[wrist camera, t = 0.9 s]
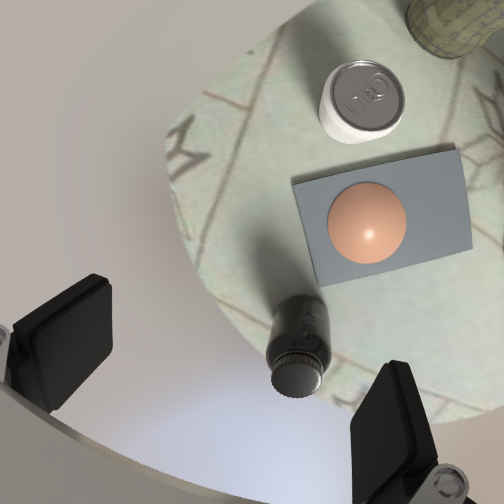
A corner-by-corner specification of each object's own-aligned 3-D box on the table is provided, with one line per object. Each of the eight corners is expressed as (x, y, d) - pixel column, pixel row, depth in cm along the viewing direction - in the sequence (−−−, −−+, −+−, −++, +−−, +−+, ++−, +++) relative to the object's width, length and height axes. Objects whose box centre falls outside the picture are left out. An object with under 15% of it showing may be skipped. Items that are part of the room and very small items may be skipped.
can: (388, 119, 30) (426, 104, 18) (347, 156, 32) (367, 156, 21) (348, 76, 29) (366, 39, 18) (306, 112, 31) (304, 89, 20)
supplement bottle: (265, 305, 39) (246, 363, 28) (316, 285, 37) (317, 340, 26) (288, 347, 40) (278, 412, 29) (336, 330, 38) (343, 393, 27)
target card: (456, 149, 29) (459, 149, 28) (469, 246, 32) (473, 249, 31) (293, 185, 34) (292, 185, 33) (318, 284, 37) (318, 288, 36)
